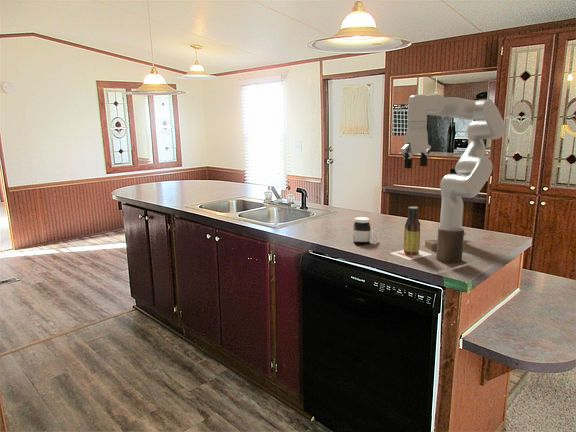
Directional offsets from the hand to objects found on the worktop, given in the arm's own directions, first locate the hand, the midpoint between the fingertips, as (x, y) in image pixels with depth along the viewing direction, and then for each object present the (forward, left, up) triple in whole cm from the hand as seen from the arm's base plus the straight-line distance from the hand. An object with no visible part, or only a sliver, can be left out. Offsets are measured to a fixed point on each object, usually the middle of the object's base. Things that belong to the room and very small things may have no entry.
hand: (415, 167), depth 176 cm
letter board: (+7, +6, -36) cm, 37 cm away
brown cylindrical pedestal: (+1, +20, -36) cm, 41 cm away
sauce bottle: (+7, +6, -35) cm, 37 cm away
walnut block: (-8, +6, -36) cm, 38 cm away
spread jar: (+10, -18, -36) cm, 42 cm away
